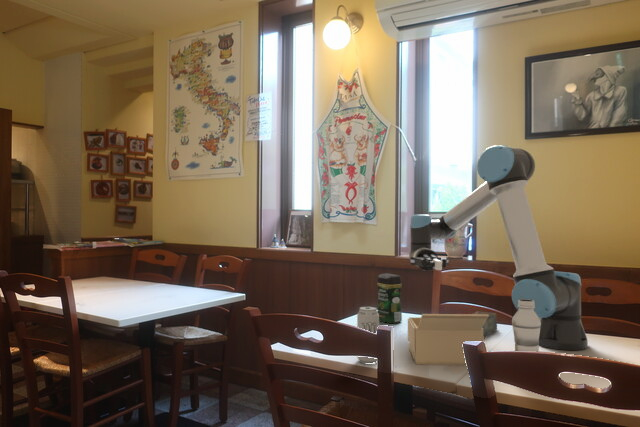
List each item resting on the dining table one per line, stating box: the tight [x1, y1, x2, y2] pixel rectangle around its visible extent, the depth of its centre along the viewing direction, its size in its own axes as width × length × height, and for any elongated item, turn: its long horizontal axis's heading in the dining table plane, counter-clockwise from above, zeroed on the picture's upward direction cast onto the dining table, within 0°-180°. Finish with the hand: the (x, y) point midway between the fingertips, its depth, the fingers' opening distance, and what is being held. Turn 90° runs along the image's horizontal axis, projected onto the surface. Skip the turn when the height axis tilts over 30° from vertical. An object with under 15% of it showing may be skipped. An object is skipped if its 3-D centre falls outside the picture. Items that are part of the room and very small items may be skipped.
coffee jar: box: [376, 272, 403, 324], centre depth 187 cm, size 10×8×19 cm
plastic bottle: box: [511, 299, 541, 353], centre depth 118 cm, size 6×7×20 cm
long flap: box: [418, 313, 489, 330], centre depth 127 cm, size 17×9×1 cm
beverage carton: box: [471, 310, 498, 338], centre depth 168 cm, size 8×19×7 cm, turn 141°
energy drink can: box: [356, 306, 380, 364], centre depth 134 cm, size 6×6×15 cm
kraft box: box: [407, 317, 484, 366], centre depth 138 cm, size 19×14×10 cm
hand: (439, 265), depth 145 cm, fingers closed
